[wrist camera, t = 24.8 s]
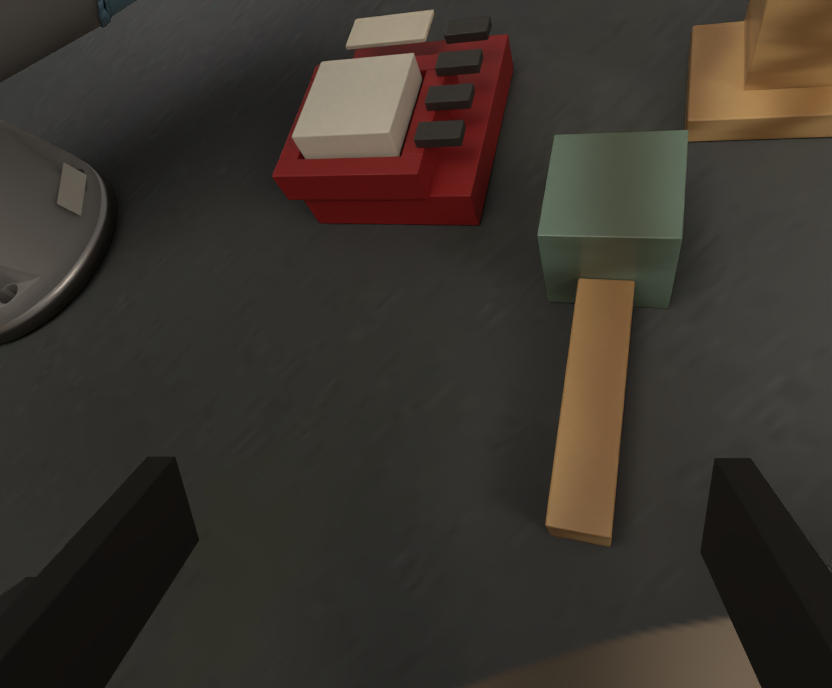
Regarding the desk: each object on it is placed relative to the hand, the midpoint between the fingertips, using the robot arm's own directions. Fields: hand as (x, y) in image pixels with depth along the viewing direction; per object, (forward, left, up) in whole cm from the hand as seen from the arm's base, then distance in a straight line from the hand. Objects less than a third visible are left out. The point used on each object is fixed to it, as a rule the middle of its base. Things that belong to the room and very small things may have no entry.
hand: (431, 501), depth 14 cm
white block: (-11, +21, -7) cm, 24 cm away
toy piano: (-9, +23, -11) cm, 27 cm away
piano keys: (-9, +23, -7) cm, 26 cm away
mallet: (+3, +9, -11) cm, 15 cm away
